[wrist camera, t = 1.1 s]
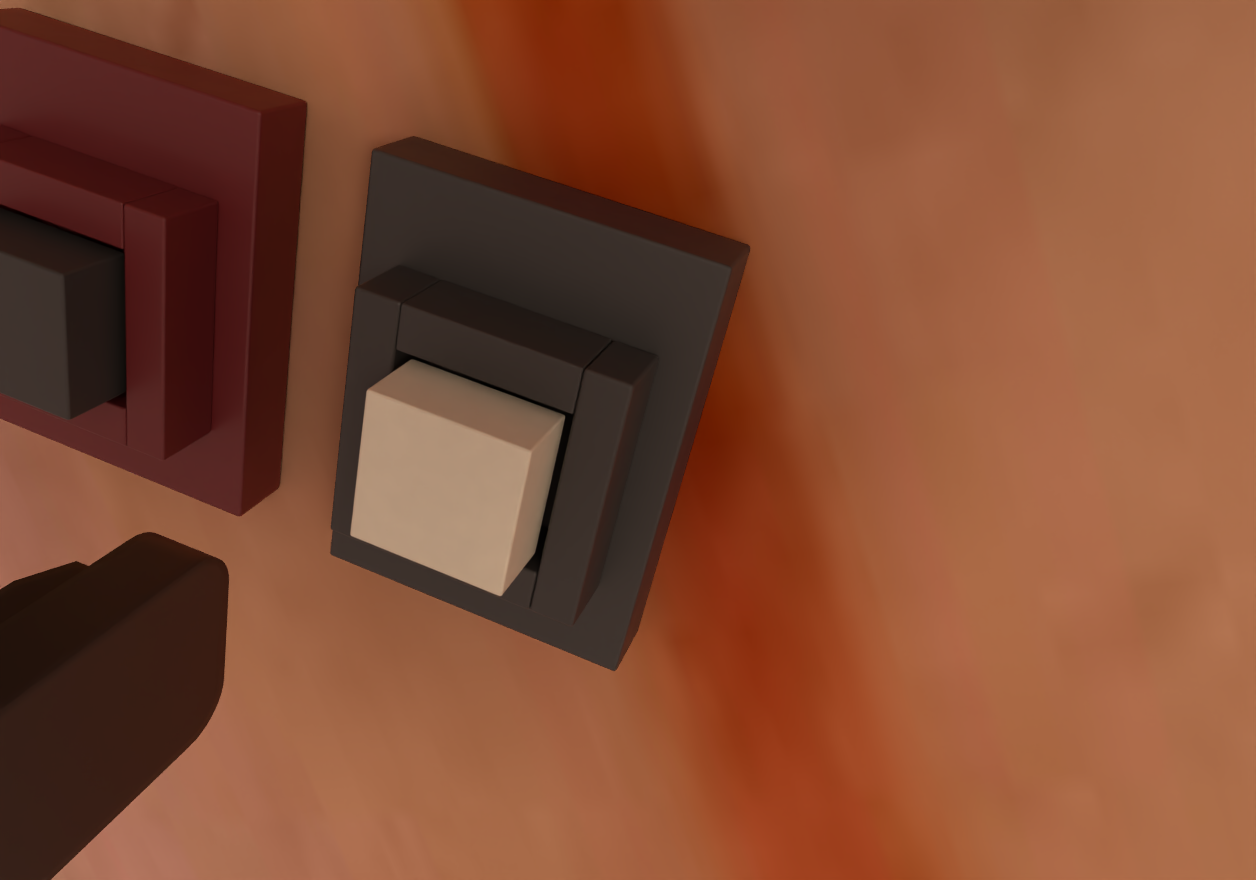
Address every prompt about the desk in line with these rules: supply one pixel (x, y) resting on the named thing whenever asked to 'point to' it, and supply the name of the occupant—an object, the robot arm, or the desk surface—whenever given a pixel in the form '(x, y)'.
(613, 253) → the dark gray stepped base
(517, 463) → the ivory key
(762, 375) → the desk surface
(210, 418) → the maroon stepped base
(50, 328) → the black key
